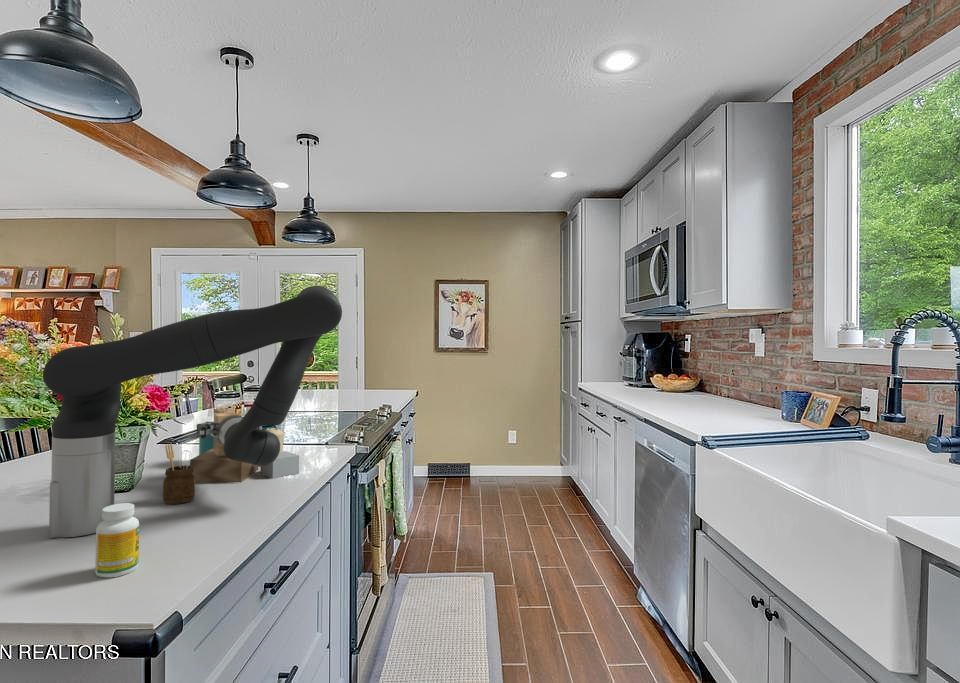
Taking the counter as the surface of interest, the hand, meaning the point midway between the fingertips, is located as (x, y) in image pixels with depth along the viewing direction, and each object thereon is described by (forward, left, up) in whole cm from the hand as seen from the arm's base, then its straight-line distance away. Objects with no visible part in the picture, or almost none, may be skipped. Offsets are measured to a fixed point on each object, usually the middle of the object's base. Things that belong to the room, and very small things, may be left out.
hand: (225, 424), depth 135 cm
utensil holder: (-12, -19, -13) cm, 26 cm away
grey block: (+12, -7, -13) cm, 19 cm away
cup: (0, +12, -13) cm, 18 cm away
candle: (+13, +5, -13) cm, 19 cm away
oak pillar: (0, -2, -7) cm, 7 cm away
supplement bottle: (-23, -53, -13) cm, 59 cm away
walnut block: (0, -2, -13) cm, 13 cm away
